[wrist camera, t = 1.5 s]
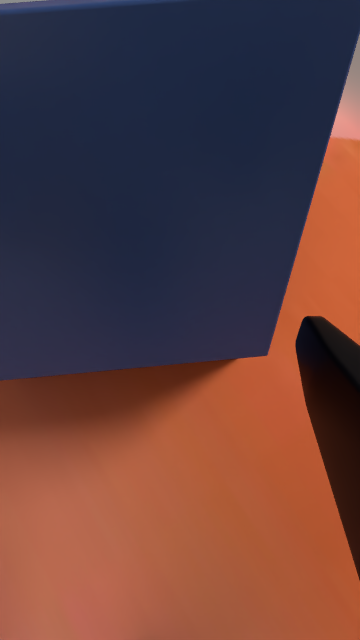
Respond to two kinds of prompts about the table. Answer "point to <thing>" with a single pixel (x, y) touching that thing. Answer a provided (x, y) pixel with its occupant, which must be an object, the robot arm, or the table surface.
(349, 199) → the table surface
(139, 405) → the table surface
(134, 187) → the lid
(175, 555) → the table surface
